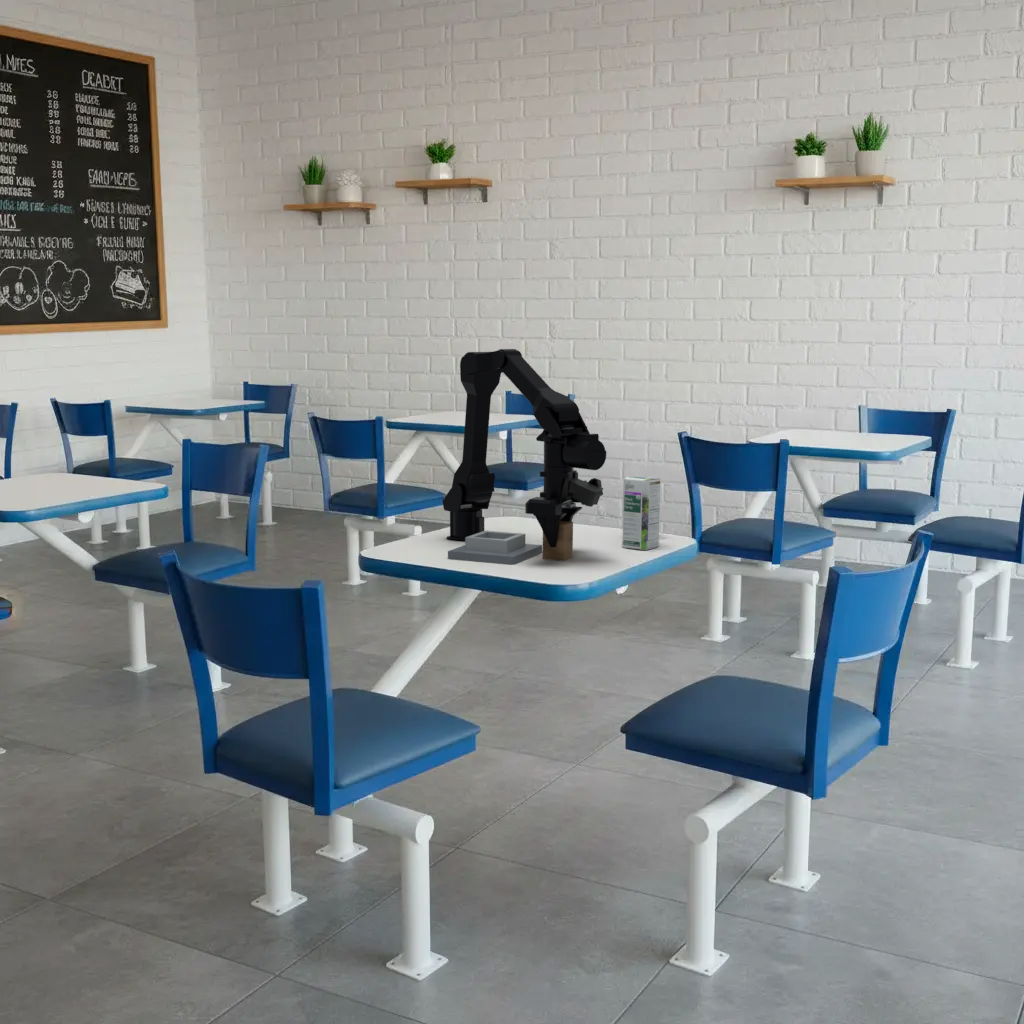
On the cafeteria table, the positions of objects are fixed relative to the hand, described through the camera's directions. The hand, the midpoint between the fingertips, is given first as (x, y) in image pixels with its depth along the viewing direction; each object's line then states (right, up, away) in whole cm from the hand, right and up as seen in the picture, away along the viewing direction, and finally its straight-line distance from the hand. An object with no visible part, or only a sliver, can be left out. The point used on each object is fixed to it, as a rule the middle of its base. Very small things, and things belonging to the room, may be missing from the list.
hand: (557, 545), depth 238 cm
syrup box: (+17, -1, +12) cm, 21 cm away
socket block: (-12, -2, +3) cm, 13 cm away
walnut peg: (0, -3, 0) cm, 3 cm away
